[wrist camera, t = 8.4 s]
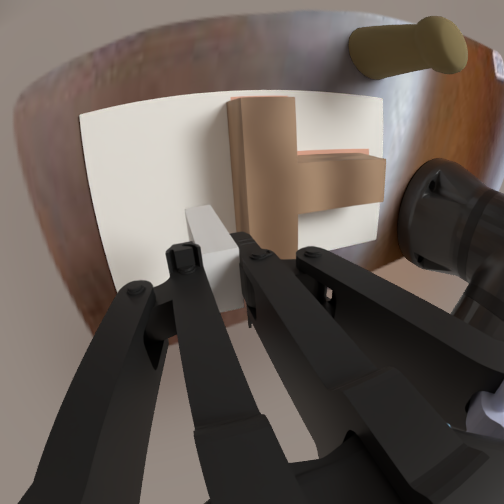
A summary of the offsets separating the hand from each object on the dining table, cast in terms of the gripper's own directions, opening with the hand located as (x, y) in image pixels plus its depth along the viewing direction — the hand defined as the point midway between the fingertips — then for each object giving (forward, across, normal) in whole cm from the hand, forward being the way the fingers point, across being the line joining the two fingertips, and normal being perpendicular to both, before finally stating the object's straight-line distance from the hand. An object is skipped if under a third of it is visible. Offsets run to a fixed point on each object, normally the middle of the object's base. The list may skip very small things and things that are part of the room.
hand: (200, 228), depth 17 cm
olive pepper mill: (+8, -19, -14) cm, 25 cm away
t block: (+8, -9, -1) cm, 12 cm away
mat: (+8, -6, -1) cm, 10 cm away
